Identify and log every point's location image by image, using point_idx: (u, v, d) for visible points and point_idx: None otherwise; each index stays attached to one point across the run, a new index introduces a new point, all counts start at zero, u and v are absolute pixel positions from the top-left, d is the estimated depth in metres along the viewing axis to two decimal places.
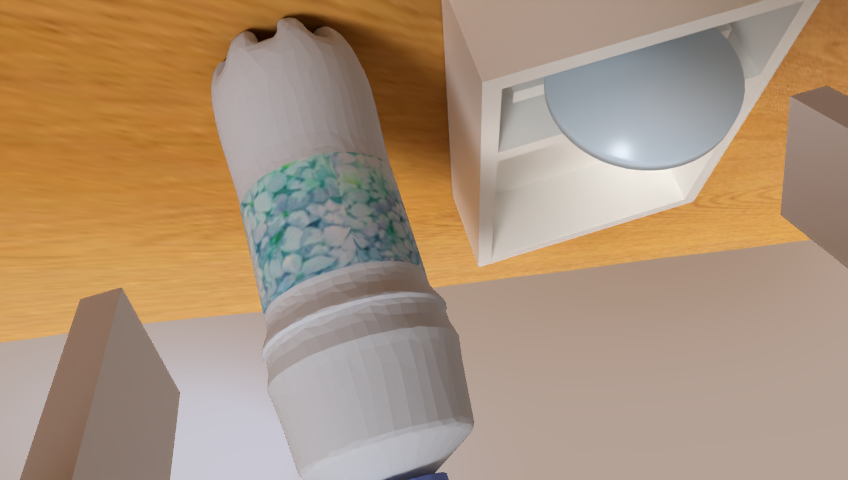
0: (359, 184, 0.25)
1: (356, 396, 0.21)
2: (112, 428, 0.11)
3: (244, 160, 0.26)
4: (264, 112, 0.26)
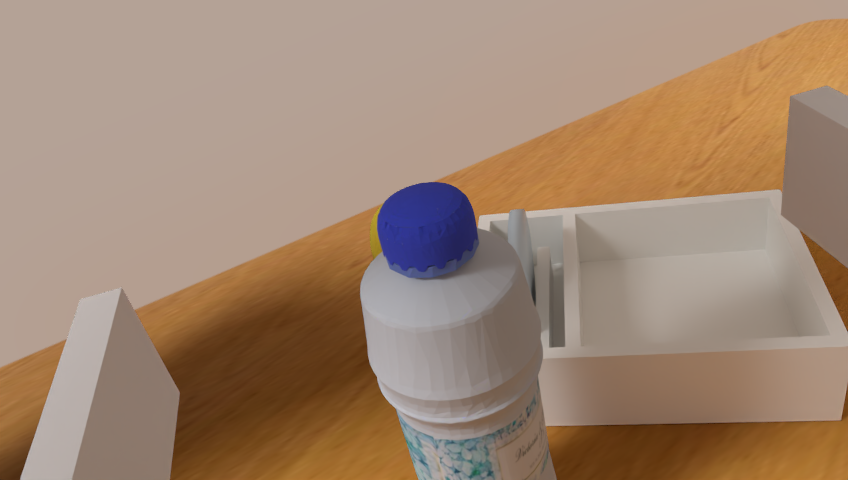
0: None
1: None
2: (112, 428, 0.11)
3: None
4: None
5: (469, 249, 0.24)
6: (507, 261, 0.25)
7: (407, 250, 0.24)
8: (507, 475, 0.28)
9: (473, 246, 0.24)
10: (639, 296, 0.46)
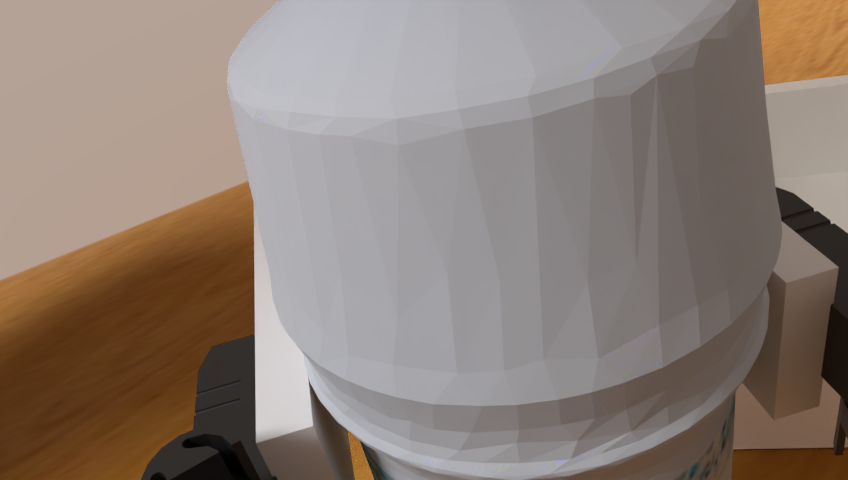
0: None
1: None
2: None
3: None
4: None
5: None
6: None
7: None
8: None
9: None
10: None
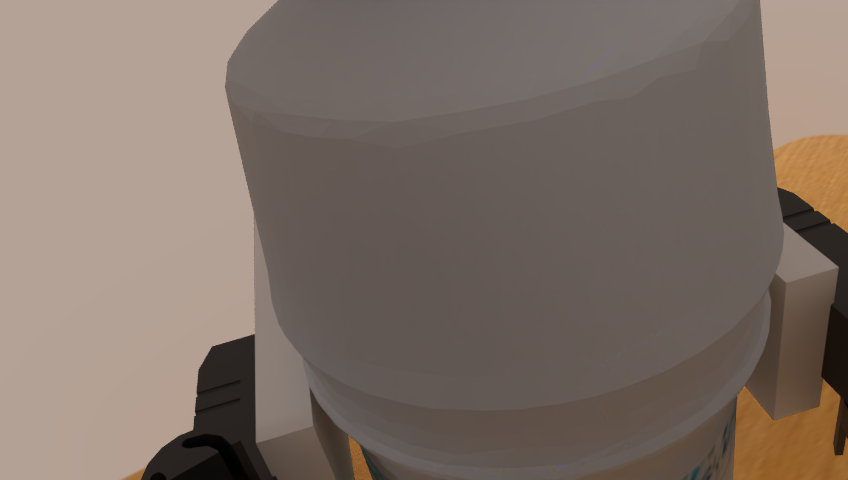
0: None
1: None
2: None
3: None
4: None
5: None
6: None
7: None
8: None
9: None
10: None
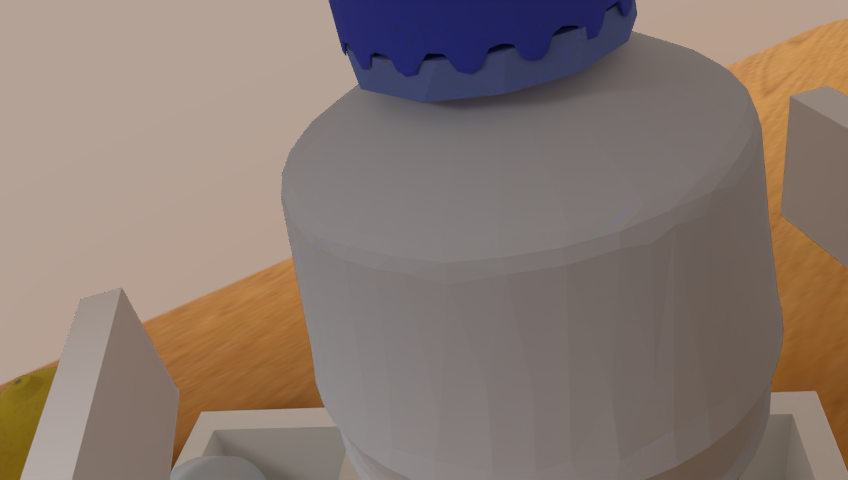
0: None
1: None
2: (112, 428, 0.11)
3: None
4: None
5: (621, 8, 0.07)
6: (714, 76, 0.08)
7: None
8: None
9: (631, 3, 0.08)
10: None
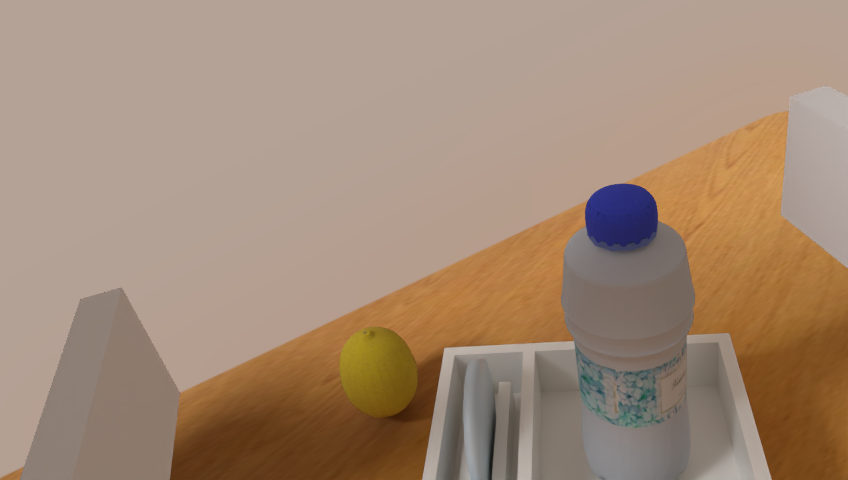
0: None
1: (563, 278, 0.38)
2: (112, 428, 0.11)
3: (597, 429, 0.41)
4: (584, 427, 0.43)
5: (654, 231, 0.34)
6: (675, 240, 0.36)
7: (615, 231, 0.34)
8: (665, 399, 0.38)
9: (656, 228, 0.35)
10: None
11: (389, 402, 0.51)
